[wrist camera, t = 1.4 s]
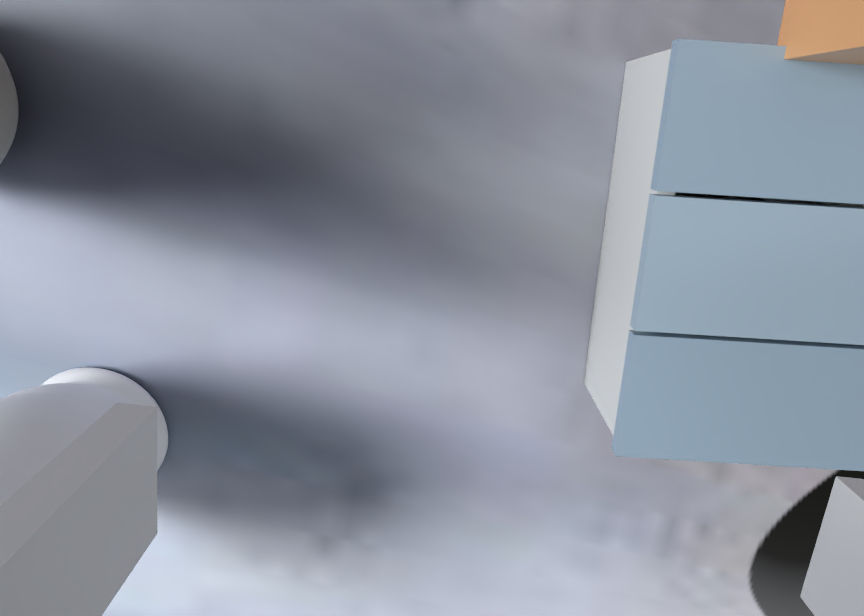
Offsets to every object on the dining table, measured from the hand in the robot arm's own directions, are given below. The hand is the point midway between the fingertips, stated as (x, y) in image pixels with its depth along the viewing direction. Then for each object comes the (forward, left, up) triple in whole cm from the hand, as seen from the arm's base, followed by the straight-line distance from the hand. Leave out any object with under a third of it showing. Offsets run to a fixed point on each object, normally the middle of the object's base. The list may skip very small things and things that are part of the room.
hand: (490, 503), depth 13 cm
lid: (-4, +14, -18) cm, 23 cm away
